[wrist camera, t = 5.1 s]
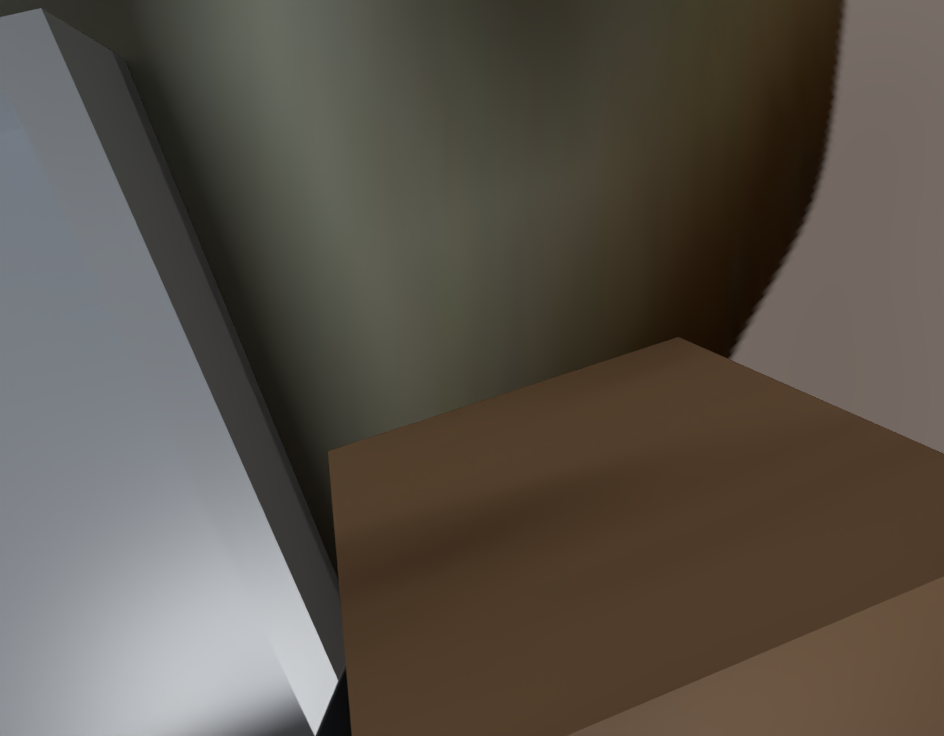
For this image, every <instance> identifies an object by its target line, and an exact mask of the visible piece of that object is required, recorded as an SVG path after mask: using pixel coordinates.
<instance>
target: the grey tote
mask: <svg viewBox="0 0 944 736" xmlns="http://www.w3.org/2000/svg"><path fill="white" fill-rule="evenodd" d="M345 663H346V661H345V649H344V637H343V625H342V613H341V602H340V590H339V581H338V578H337V576H336V573H335V571H334V568H333V566H332V564H331V561H330V559H329V556H328V554H327V551H326V549H325V546H324V544H323V542H322V539H321V537H320V534H319V532H318V529H317V527H316V525H315V522H314V520H313V517H312V515H311V512H310V510H309V507H308V505H307V503H306V500H305V498H304V495H303V493H302V490H301V488H300V486H299V483H298V481H297V478H296V476H295V473H294V471H293V468H292V466H291V464H290V461H289V459H288V456H287V454H286V451H285V449H284V447H283V444H282V442H281V439H280V437H279V434H278V432H277V430H276V427H275V425H274V422H273V420H272V417H271V415H270V412H269V410H268V408H267V405H266V403H265V400H264V398H263V395H262V393H261V391H260V388H259V386H258V383H257V381H256V378H255V376H254V373H253V371H252V369H251V366H250V364H249V361H248V359H247V356H246V354H245V352H244V349H243V347H242V344H241V342H240V339H239V337H238V334H237V332H236V330H235V327H234V325H233V322H232V320H231V317H230V315H229V313H228V310H227V308H226V305H225V303H224V300H223V298H222V296H221V293H220V291H219V288H218V286H217V283H216V281H215V278H214V276H213V274H212V271H211V269H210V266H209V264H208V261H207V259H206V257H205V254H204V252H203V249H202V247H201V244H200V242H199V239H198V237H197V235H196V232H195V230H194V227H193V225H192V222H191V220H190V218H189V215H188V213H187V210H186V208H185V205H184V203H183V201H182V198H181V196H180V193H179V191H178V188H177V186H176V183H175V181H174V179H173V176H172V174H171V171H170V169H169V166H168V164H167V162H166V159H165V157H164V154H163V152H162V149H161V147H160V144H159V142H158V140H157V137H156V135H155V132H154V130H153V127H152V125H151V123H150V120H149V118H148V115H147V113H146V110H145V108H144V105H143V103H142V101H141V98H140V96H139V93H138V91H137V88H136V86H135V84H134V81H133V79H132V76H131V74H130V71H129V69H128V67H127V64H126V62H125V59H124V58H123V57H121V56H119V55H118V54H116V53H114V52H113V51H111V50H109V49H108V48H106V47H104V46H103V45H101V44H100V43H98V42H96V41H95V40H93V39H91V38H90V37H88V36H86V35H85V34H83V33H81V32H80V31H78V30H77V29H75V28H73V27H72V26H70V25H68V24H67V23H65V22H63V21H62V20H60V19H58V18H57V17H55V16H53V15H52V14H50V13H49V12H47V11H45V10H44V9H42V8H39V9H34V10H30V11H25V12H21V13H16V14H12V15H7V16H3V17H0V736H315V735H316V733H317V731H318V728H319V726H320V723H321V721H322V718H323V716H324V714H325V711H326V709H327V706H328V704H329V702H330V699H331V697H332V694H333V692H334V690H335V687H336V685H337V682H338V680H339V678H340V675H341V673H342V670H343V668H344V666H345Z"/></svg>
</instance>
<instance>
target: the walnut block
mask: <svg viewBox="0 0 944 736" xmlns="http://www.w3.org/2000/svg"><path fill="white" fill-rule="evenodd" d="M328 460H329V472H330V484H331V495H332V507H333V519H334V531H335V543H336V554H337V566H338V578H339V590H340V602H341V613H342V625H343V637H344V649H345V661H346V672H347V684H348V696H349V708H350V720H351V731H352V736H944V454H943V453H941V452H939V451H936V450H934V449H932V448H930V447H927V446H925V445H923V444H921V443H918V442H916V441H914V440H911V439H909V438H907V437H905V436H902V435H900V434H898V433H896V432H893V431H891V430H889V429H886V428H884V427H882V426H880V425H877V424H875V423H873V422H871V421H868V420H866V419H864V418H861V417H859V416H857V415H855V414H852V413H850V412H848V411H845V410H843V409H841V408H839V407H836V406H834V405H832V404H829V403H827V402H825V401H823V400H820V399H818V398H816V397H814V396H811V395H809V394H807V393H805V392H802V391H800V390H798V389H795V388H793V387H791V386H789V385H786V384H784V383H782V382H779V381H777V380H775V379H773V378H770V377H768V376H766V375H764V374H761V373H759V372H756V371H754V370H752V369H750V368H747V367H745V366H743V365H741V364H738V363H736V362H734V361H732V360H729V359H727V358H725V357H723V356H720V355H718V354H716V353H713V352H711V351H709V350H707V349H704V348H702V347H700V346H698V345H695V344H693V343H691V342H688V341H686V340H684V339H682V338H679V337H677V338H674V339H671V340H668V341H665V342H662V343H659V344H656V345H652V346H649V347H646V348H643V349H640V350H637V351H634V352H631V353H628V354H625V355H622V356H619V357H616V358H613V359H609V360H606V361H603V362H600V363H597V364H594V365H591V366H588V367H585V368H582V369H579V370H576V371H573V372H570V373H566V374H563V375H560V376H557V377H554V378H551V379H548V380H545V381H542V382H539V383H536V384H533V385H530V386H527V387H523V388H520V389H517V390H514V391H511V392H508V393H505V394H502V395H499V396H496V397H493V398H490V399H487V400H484V401H480V402H477V403H474V404H471V405H468V406H465V407H462V408H459V409H456V410H453V411H450V412H447V413H444V414H441V415H437V416H434V417H431V418H428V419H425V420H422V421H419V422H416V423H413V424H410V425H407V426H404V427H401V428H398V429H394V430H391V431H388V432H385V433H382V434H379V435H376V436H373V437H370V438H367V439H364V440H361V441H358V442H355V443H351V444H348V445H345V446H342V447H339V448H336V449H333V450H330V451H328Z"/></svg>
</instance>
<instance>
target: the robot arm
mask: <svg viewBox="0 0 944 736" xmlns="http://www.w3.org/2000/svg"><path fill="white" fill-rule="evenodd" d="M315 736H352V731H351V720H350V708H349V696H348V684H347V672H346V663H345V666H344V668H343V670H342V673H341V675H340V678H339V680H338V682H337V685H336V687H335V690H334V692H333V694H332V697H331V699H330V702H329V704H328V706H327V709H326V711H325V714H324V716H323V718H322V721H321V723H320V726H319V728H318V731H317V733H316V735H315Z"/></svg>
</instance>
